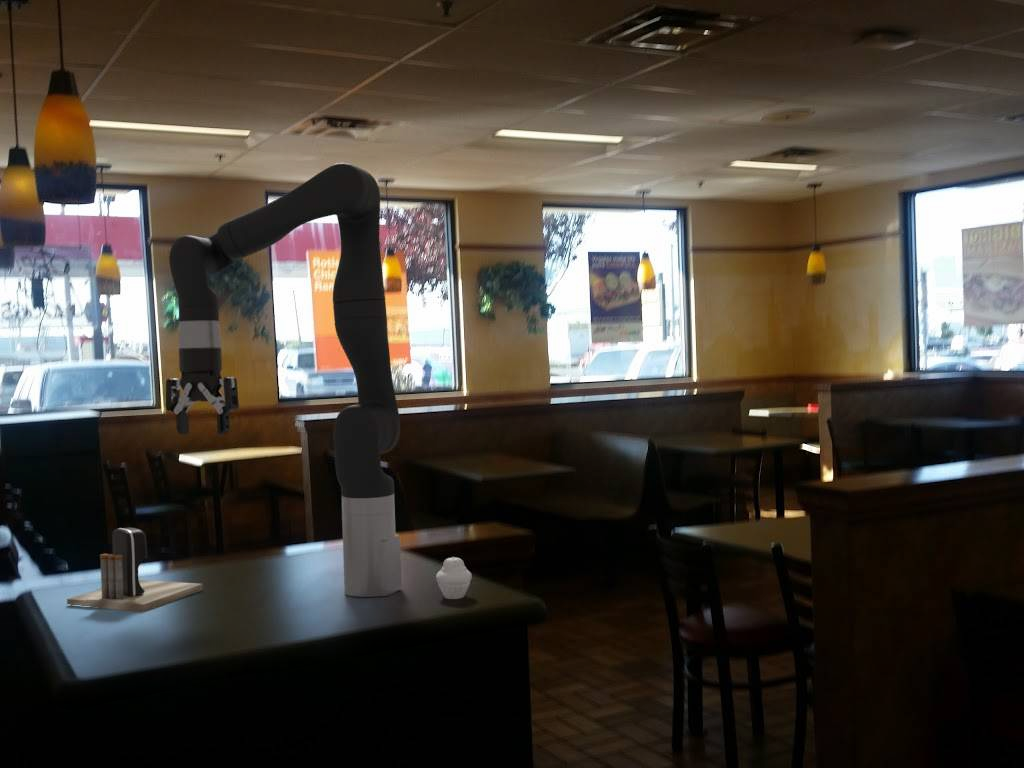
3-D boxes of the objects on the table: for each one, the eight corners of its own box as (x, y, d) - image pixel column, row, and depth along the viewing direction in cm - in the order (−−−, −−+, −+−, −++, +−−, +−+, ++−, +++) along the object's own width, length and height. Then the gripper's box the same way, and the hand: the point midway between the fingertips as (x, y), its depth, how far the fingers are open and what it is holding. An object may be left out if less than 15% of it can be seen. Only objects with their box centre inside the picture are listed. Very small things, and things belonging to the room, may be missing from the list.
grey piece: (467, 601, 174) (466, 560, 174) (432, 600, 176) (431, 559, 176) (476, 593, 181) (475, 553, 180) (441, 592, 182) (440, 552, 182)
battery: (151, 594, 181) (148, 528, 181) (129, 598, 178) (127, 531, 178) (134, 588, 186) (132, 524, 186) (113, 592, 183) (111, 527, 183)
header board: (202, 590, 189) (201, 542, 188) (143, 611, 173) (141, 559, 173) (130, 585, 194) (129, 538, 194) (67, 606, 179) (65, 555, 179)
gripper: (245, 345, 192) (247, 432, 192) (180, 347, 196) (183, 432, 197) (220, 345, 185) (223, 436, 185) (154, 347, 189) (157, 436, 190)
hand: (203, 434), depth 191 cm, fingers open, 8 cm apart
